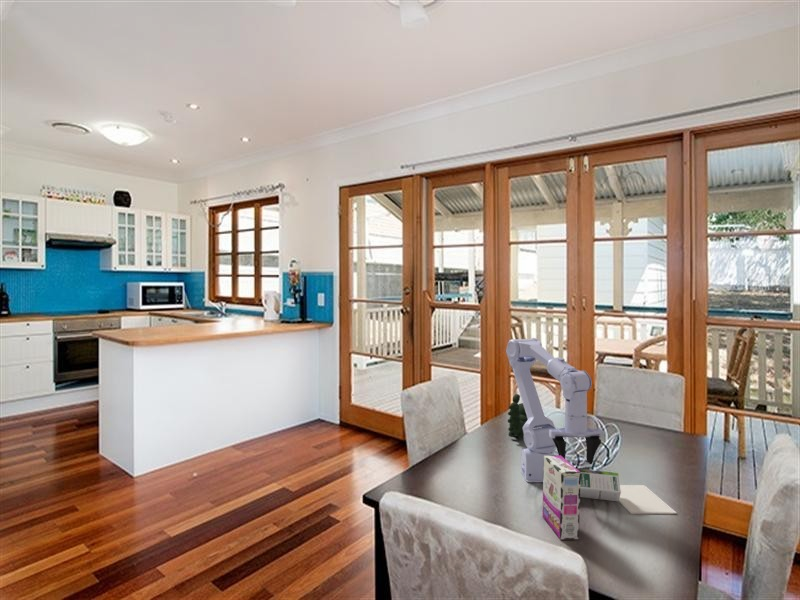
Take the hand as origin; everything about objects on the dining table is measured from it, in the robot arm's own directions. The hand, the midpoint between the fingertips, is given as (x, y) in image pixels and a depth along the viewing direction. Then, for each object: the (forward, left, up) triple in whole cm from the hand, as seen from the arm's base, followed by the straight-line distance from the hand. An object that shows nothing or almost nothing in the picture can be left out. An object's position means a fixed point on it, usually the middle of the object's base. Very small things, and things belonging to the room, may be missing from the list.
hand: (576, 462), depth 126 cm
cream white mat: (+18, 0, -10) cm, 21 cm away
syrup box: (+12, -1, -7) cm, 14 cm away
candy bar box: (-9, -15, -11) cm, 20 cm away
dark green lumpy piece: (-1, +55, -11) cm, 56 cm away
